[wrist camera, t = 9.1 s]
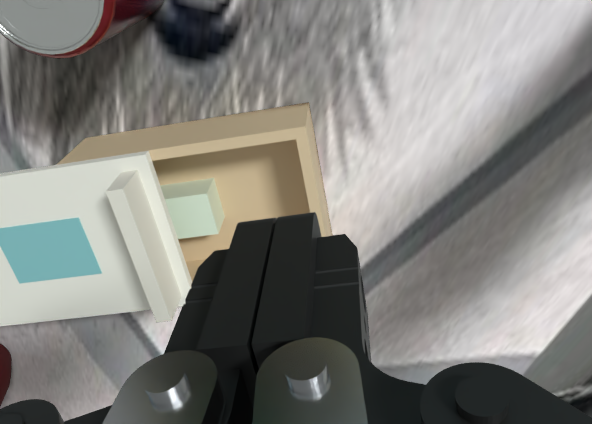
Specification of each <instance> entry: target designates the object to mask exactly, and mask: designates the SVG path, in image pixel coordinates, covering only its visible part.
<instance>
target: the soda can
mask: <svg viewBox="0 0 592 424" xmlns="http://www.w3.org/2000/svg"><path fill="white" fill-rule="evenodd" d="M163 1H164V0H0V33H1V34H2V35H3V36H4V37H5V38H7V39H8V40H9V41H11V42H12V43H14V44H15V45H16V46H18V47H20V48H22V49H24V50H26V51H28V52H30V53H33V54H36V55H40V56H43V57H48V58H57V59H61V58H71V57H74V56H77V55H80V54H83V53H85V52H87V51H89V50H90V49H92V48H94V47H96V46H97V45H99V44H101V43H103V42H105V41H106V40H108V39H110V38H112V37H113V36H115V35H117V34H119V33H120V32H122V31H124V30H126V29H127V28H129V27H131V26H133V25H135V24H136V23H138V22H140V21H142V20H143V19H145V18H147V17H148V16H150V15H152V14H153V13H154V12H155V11H156V10H157V9H158V8H159V7H160V6H161V4H162V3H163Z"/></svg>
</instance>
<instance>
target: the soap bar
mask: <svg viewBox="0 0 592 424" xmlns="http://www.w3.org/2000/svg"><path fill="white" fill-rule="evenodd" d="M160 187H161V190H162V193H163V196H164V199H165V202H166V205H167V208H168V211H169V214H170V217H171V220H172V223H173V226H174V229H175V232H176V235H177V238H178V239H183V238H191V237H199V236H206V235H214V234H219V231H220V228H221V226H222V223H223V220H224V217H225V215H224V212H223V208H222V205H221V201H220V198H219V194H218V190H217V187H216V183H215V180H214V178H209V179H202V180H195V181H188V182H181V183H174V184H167V185H160Z"/></svg>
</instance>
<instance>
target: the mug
mask: <svg viewBox="0 0 592 424" xmlns="http://www.w3.org/2000/svg"><path fill="white" fill-rule="evenodd" d="M10 378H11V355H10V353H9V351H8V350H7V349H6V348H5V347H4V346H3V345H2V344H0V406H1V404H2V401H3V399H4V397H5V394H6V392H7V390H8V387H9V384H10Z"/></svg>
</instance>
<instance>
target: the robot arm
mask: <svg viewBox="0 0 592 424" xmlns="http://www.w3.org/2000/svg"><path fill="white" fill-rule="evenodd" d="M0 424H592V418H591V417H589V416H588V415H586V414H584V413H583V412H581V411H580V410H578V409H576V408H575V407H573V406H571V405H570V404H568V403H566V402H565V401H563V400H561V399H560V398H558V397H557V396H555V395H553V394H552V393H550V392H548V391H547V390H545V389H543V388H542V387H540V386H538V385H537V384H535V383H534V382H532V381H530V380H529V379H527V378H525V377H524V376H522V375H520V374H518V373H517V372H515V371H513V370H511V369H508V368H505V367H502V366H499V365H495V364H489V363H464V364H459V365H455V366H452V367H449V368H447V369H444V370H443V371H441V372H439V373H438V374H436V375H435V376H434V377H433V378H432V379H431V380H430V381H429V382H428V383H427V385H424V384H418V383H413V382H407V381H403V380H399V379H396V378H394V377H391V376H389V375H387V374H385V373H383V372H382V371H380V370H379V369H378V368H376V367H375V366H374V365H373V364H372V363H371V356H370V341H369V327H368V313H367V307H366V300H365V294H364V288H363V282H362V276H361V269H360V263H359V257H358V251H357V247H356V246H355V245H354V244H353V243H352V242H351V240H350V239H349V238H348V237H347V236H346V235H345V234H342V235H334V236H326V237H321V232H320V227H319V222H318V218H317V215H316V213H315V212H312V213H305V214H297V215H289V216H282V217H278V218H268V219H260V220H253V221H245V222H239V223H238V224H237V226H236V229H235V232H234V235H233V238H232V241H231V244H230V247H229V249H224V250H216V251H214V252H213V253H212V254H211V255H210V256H209V257H208V258H207V259H206V260H205V261H204V262H203V263H202V264H201V265H200V266H199V267H198V269H197V272H196V274H195V277H194V279H193V282H192V284H191V289H189V292H188V294H187V297H186V299H185V304H183V307H182V310H181V312H180V315H179V317H178V320H177V322H176V325H175V327H174V330H173V332H172V335H171V337H170V340H169V342H168V345H167V348H166V350H165V353H164V354H163V355H160V356H158V357H156V358H154V359H152V360H150V361H148V362H147V363H145V364H143V365H142V366H141V367H139V368H138V369H137V370H136V371H135V372H134V373H133V374H131V376H130V377H129V378H128V379H127V380H126V382H125V383H124V385H123V386H122V388H121V390H120V392H119V394H118V395H117V397H116V399H115V401H114V403H113V405H111V406H108V407H106V408H103V409H100V410H97V411H94V412H91V413H88V414H85V415H83V416H80V417H77V418H74V419H71V420H68V421H65V422H64V421H63V419H62V417H61V415H60V414H59V412H58V410H57V409H56V407H55V406H54V405H53V404H51V403H50V402H48V401H45V400H39V399H33V400H25V401H20V402H17V403H14V404H11V405H9V406H6V407H4V408H2V409H0Z"/></svg>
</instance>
